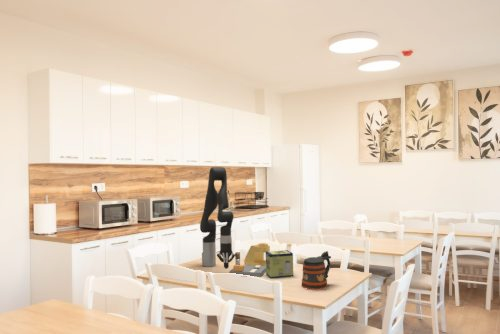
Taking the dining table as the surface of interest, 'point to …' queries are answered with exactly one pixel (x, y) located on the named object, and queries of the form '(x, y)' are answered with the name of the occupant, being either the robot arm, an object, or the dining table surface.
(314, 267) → the beer stein
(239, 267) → the stud finder
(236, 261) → the awl
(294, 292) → the dining table surface
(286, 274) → the protein box
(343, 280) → the dining table surface
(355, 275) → the dining table surface
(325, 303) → the dining table surface
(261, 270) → the subfloor board
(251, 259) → the tan lumpy shape
